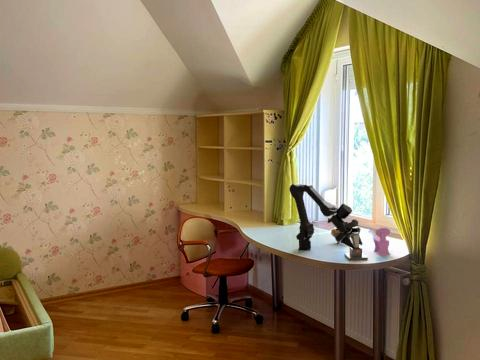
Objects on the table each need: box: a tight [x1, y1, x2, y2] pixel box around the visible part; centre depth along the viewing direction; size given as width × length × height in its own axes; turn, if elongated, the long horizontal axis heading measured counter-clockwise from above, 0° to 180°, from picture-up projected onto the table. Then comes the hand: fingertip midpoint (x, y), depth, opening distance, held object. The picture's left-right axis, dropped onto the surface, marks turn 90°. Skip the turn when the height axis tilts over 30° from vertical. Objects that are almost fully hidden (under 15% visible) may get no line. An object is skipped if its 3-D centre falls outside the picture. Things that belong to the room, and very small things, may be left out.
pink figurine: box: [373, 227, 391, 256], centre depth 260 cm, size 8×9×15 cm
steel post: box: [351, 232, 360, 249], centre depth 251 cm, size 4×4×12 cm
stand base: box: [343, 246, 369, 262], centre depth 252 cm, size 10×10×6 cm
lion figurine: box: [330, 228, 352, 245], centre depth 285 cm, size 15×5×9 cm, turn 68°
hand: (358, 246), depth 250 cm, fingers open, 8 cm apart
